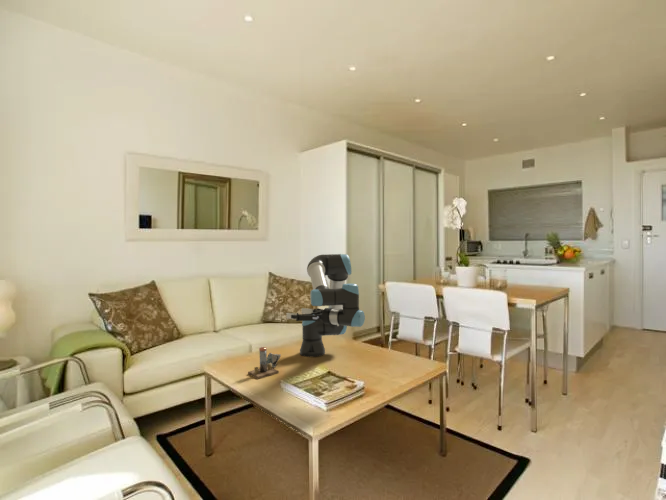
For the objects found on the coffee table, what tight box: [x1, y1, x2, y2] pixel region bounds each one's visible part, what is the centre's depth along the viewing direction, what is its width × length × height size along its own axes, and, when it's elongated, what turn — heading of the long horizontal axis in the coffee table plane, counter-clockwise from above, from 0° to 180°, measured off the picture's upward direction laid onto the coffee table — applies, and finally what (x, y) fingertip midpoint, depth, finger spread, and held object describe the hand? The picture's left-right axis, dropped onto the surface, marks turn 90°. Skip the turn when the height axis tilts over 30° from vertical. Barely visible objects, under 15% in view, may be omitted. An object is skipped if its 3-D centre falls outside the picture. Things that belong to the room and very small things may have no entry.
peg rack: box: [247, 363, 280, 380], centre depth 193 cm, size 12×10×4 cm
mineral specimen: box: [267, 352, 281, 369], centre depth 206 cm, size 10×8×10 cm
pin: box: [259, 346, 268, 372], centre depth 193 cm, size 4×4×12 cm
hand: (294, 313), depth 187 cm, fingers open, 13 cm apart
